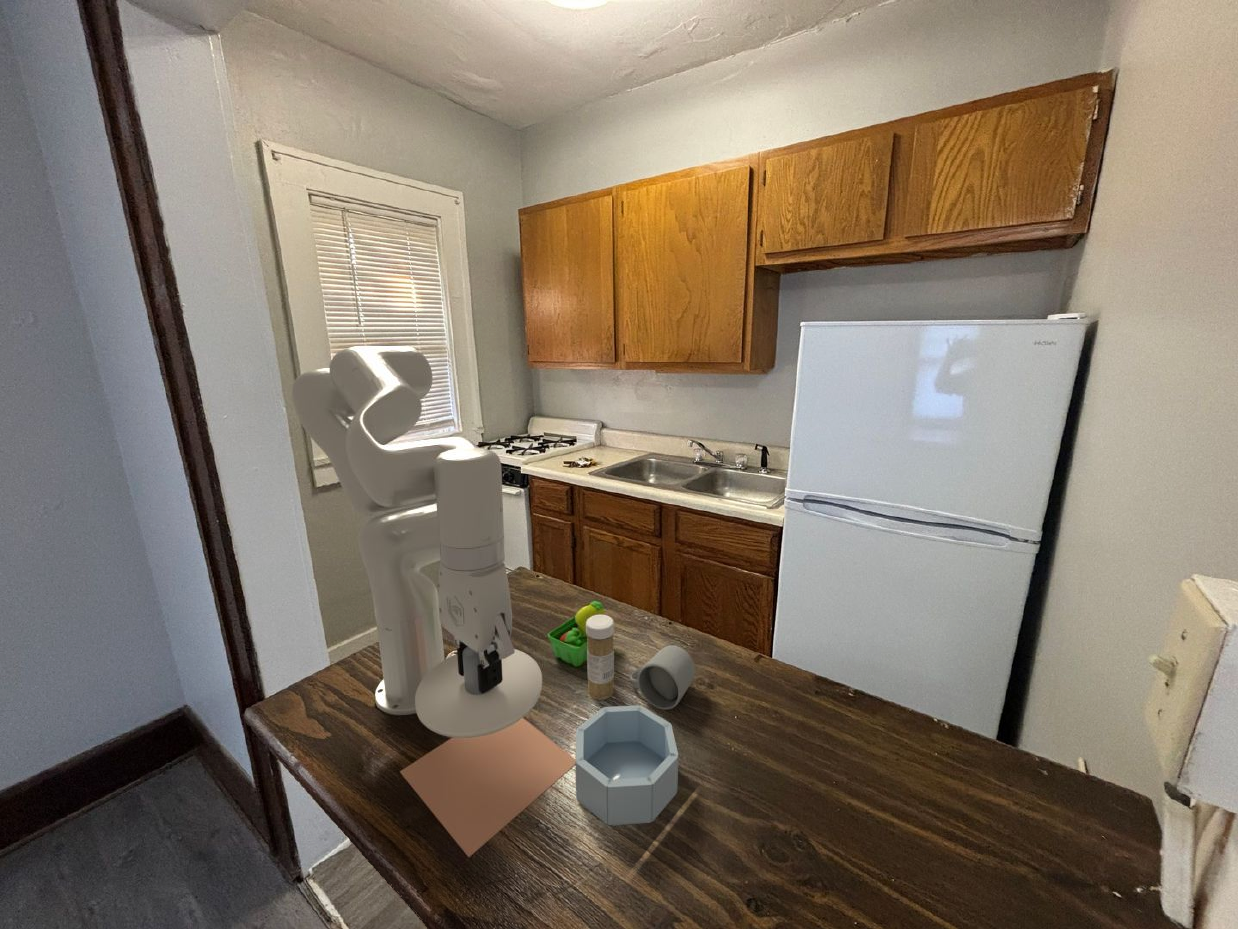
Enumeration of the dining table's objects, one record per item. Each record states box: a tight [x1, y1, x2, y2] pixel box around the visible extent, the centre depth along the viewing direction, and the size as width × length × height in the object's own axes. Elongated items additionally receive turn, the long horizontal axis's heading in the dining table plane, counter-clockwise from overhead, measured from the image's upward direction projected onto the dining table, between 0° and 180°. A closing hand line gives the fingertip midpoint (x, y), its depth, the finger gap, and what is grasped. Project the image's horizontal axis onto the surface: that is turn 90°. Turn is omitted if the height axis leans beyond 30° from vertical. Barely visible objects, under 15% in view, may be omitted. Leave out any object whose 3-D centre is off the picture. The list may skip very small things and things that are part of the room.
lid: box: [415, 644, 543, 738], centre depth 62 cm, size 16×16×6 cm
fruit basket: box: [547, 600, 605, 667], centre depth 89 cm, size 11×9×11 cm
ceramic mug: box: [629, 644, 697, 711], centre depth 80 cm, size 11×8×8 cm
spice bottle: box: [586, 614, 615, 701], centre depth 78 cm, size 5×5×14 cm
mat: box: [399, 717, 575, 858], centre depth 65 cm, size 17×17×1 cm
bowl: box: [574, 704, 679, 826], centre depth 63 cm, size 13×13×6 cm
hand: (480, 677), depth 62 cm, fingers closed on lid, 4 cm apart
